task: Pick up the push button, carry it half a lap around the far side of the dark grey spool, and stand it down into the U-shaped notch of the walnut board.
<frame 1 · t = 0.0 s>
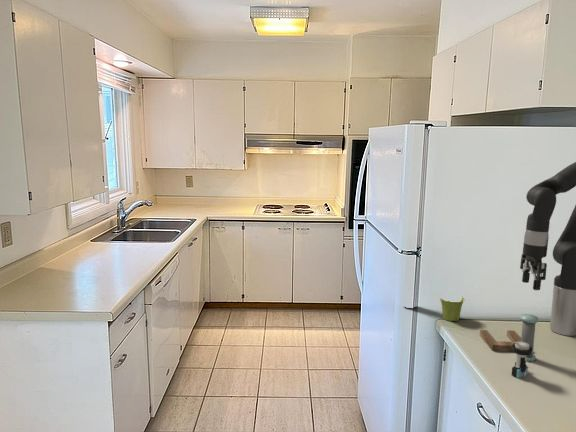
hand: (530, 286, 158), 17 cm above the worktop, tool pointing down, fingers open, 8 cm apart
plant pot: (450, 319, 173), on the worktop
notched board: (503, 343, 152), on the worktop
push button: (521, 375, 131), on the worktop
spool: (526, 357, 141), on the worktop
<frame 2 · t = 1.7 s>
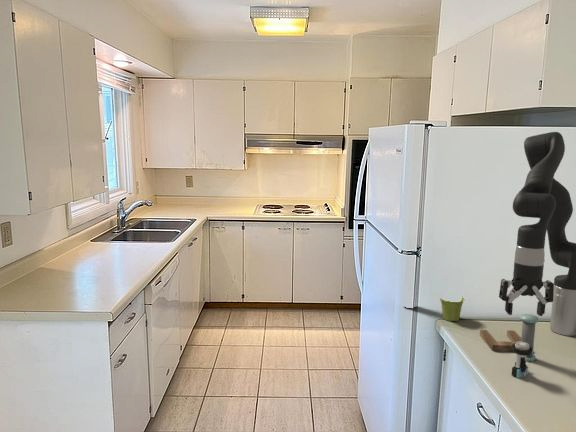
hand: (524, 314, 129), 19 cm above the worktop, tool pointing down, fingers open, 8 cm apart
nothing on the worktop moved.
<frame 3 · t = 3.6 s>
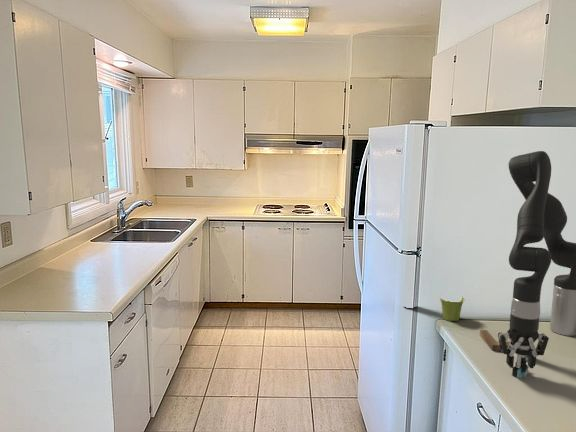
hand: (520, 366, 131), 3 cm above the worktop, tool pointing down, fingers open, 5 cm apart
push button: (521, 375, 131), on the worktop, touching gripper
everything else where it was.
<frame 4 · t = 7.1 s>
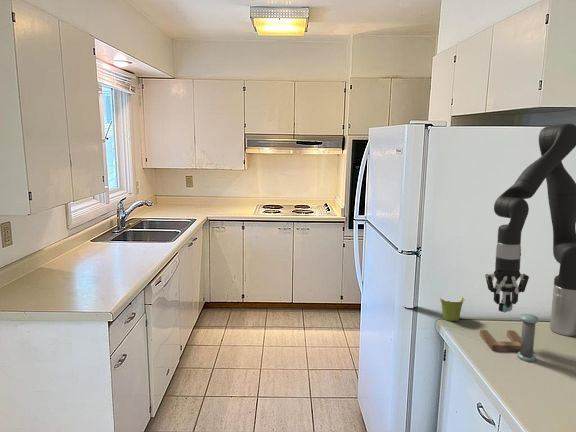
hand: (505, 303, 150), 14 cm above the worktop, tool pointing down, fingers closed on push button, 5 cm apart
push button: (507, 310, 151), point 11 cm above the worktop, touching gripper
everything else where it was.
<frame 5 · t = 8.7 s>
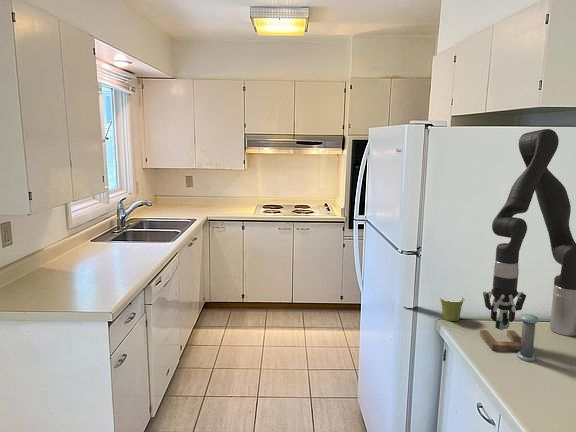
hand: (502, 320, 152), 7 cm above the worktop, tool pointing down, fingers closed on push button, 5 cm apart
push button: (503, 328, 153), point 5 cm above the worktop, touching gripper
everything else where it was.
when the fingers open (3 cm above the worktop, at t = 10.2 s): push button stays where it is, resting in notched board.
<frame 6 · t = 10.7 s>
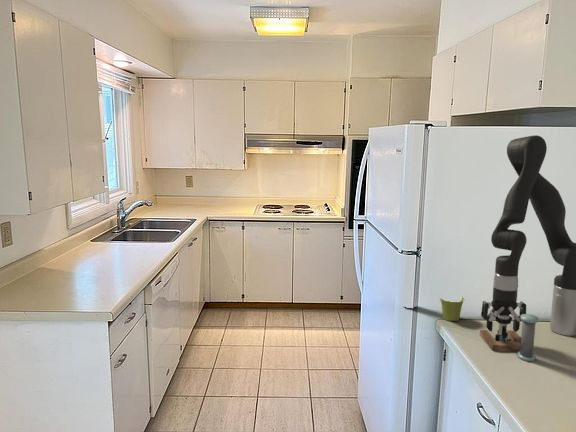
hand: (502, 330, 152), 4 cm above the worktop, tool pointing down, fingers open, 8 cm apart
push button: (502, 341, 153), resting in notched board
everything else where it was.
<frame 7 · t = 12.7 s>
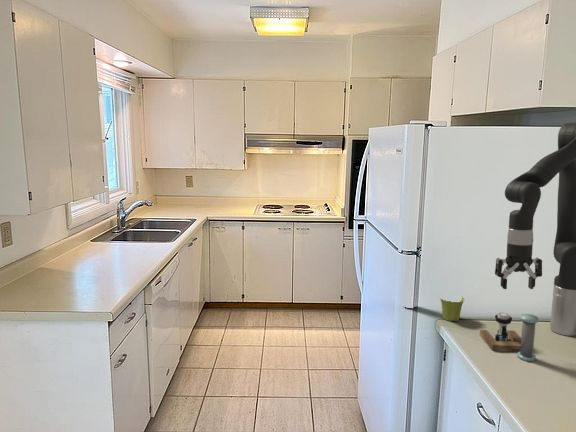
hand: (517, 288, 147), 20 cm above the worktop, tool pointing down, fingers open, 8 cm apart
nothing on the worktop moved.
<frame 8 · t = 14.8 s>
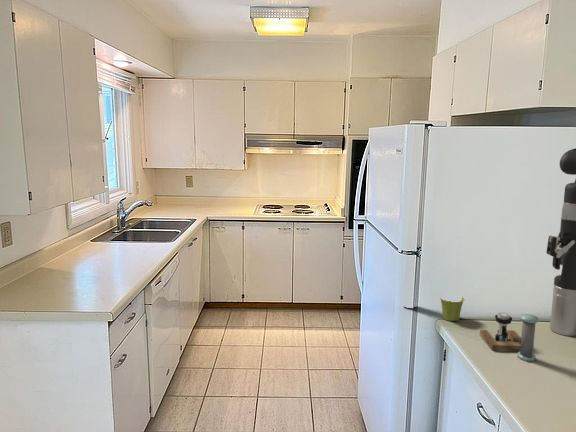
hand: (571, 269, 135), 30 cm above the worktop, tool pointing down, fingers open, 8 cm apart
nothing on the worktop moved.
at the end: push button 0.5 cm from the target spot on the notched board, point 0.0 cm above the notched board's base; push button tilted 0°; the gripper is holding nothing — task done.
